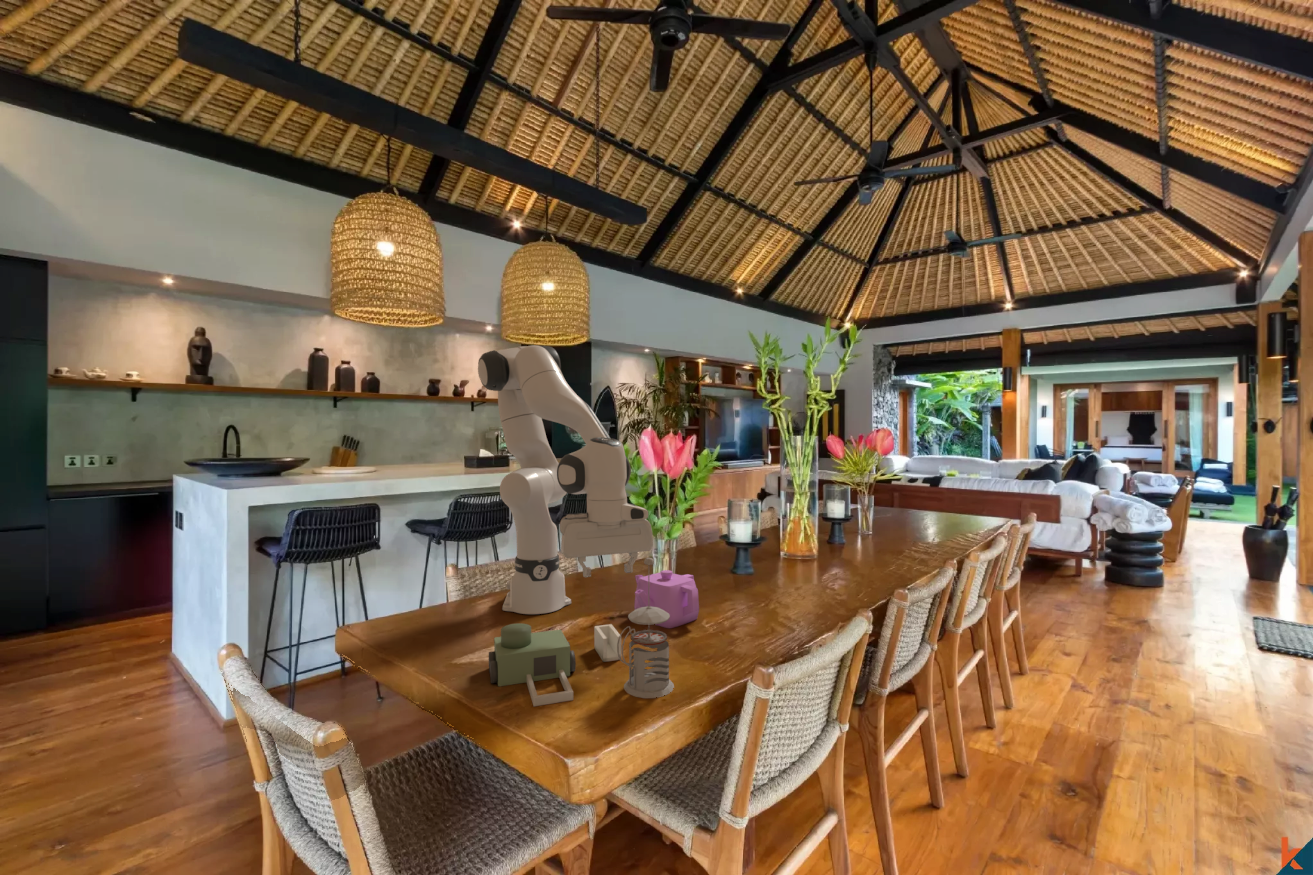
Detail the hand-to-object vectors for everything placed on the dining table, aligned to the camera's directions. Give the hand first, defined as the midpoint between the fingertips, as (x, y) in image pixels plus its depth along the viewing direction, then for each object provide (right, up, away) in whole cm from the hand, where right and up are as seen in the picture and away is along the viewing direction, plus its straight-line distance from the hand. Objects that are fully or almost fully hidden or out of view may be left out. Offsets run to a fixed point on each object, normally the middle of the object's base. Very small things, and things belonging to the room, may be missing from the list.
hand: (608, 574), depth 126 cm
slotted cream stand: (0, -18, +1) cm, 18 cm away
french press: (+8, -18, -16) cm, 25 cm away
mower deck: (-13, -18, -13) cm, 26 cm away
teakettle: (+13, -18, +24) cm, 32 cm away
